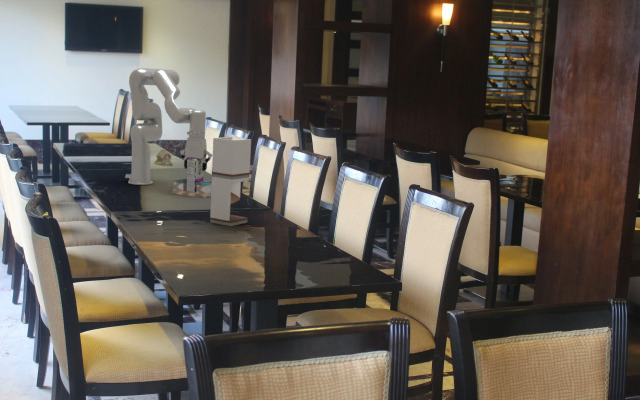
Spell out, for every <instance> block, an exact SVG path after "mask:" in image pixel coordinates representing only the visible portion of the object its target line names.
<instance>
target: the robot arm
mask: <svg viewBox="0 0 640 400" xmlns="http://www.w3.org/2000/svg"><path fill="white" fill-rule="evenodd" d="M179 83H180V75H179V74H178V72H177V71H176V70H174V69H162V68H147V67H146V68H145V67H141V68H136V69H133V70H132V71H131V73H130V74H129V78H128V84H129V89H130V96H131V100H130V101H131V113H132V117H133V119H134V120H135V121H142V122H141V123H135V124H134V125H132V126H131V128H130V132H129V133H130V134H129V135H130V140H131V173H126V174H125V176H124V178H125V179H129V180H128V184H129V185H134V186H135V185H137V186H147V185H153V183H154V182H153V181H152V180H151V147H150V145H149V143H148V142H156V141H159V140H161V138H162V136H163V118H162V117H163V115H162V109H161V107H160V106H159V104H158V103H157V102H152V101H151V102H150V101H149V94H148V91H147V89H146V87H145V86H155V87H156V88H157V89H158V90H159V91H160V94H161V95H162V97H163V98H164V110H165V112H166V114H167V115H168V117H169V119H170V120H171V121H172V122H174V123H176V124H189V131H187V132H186V135H188V137H187V138H186V142H185V147H184V149H181V150H180V151H179V153H180V155H181V158H182V160H183V161H184V163H183V167H184V169H186V170H187V159H190V158H196V159H202V161H203V163H202V171H204V172H205V171H207V169H208V163H209V161H211V160H212V158H213V153H211V152H209V151H207V150H208V149H207V140H206V138H205V136H206V134H205V133H206V118H207V114H206V111H205V110H202V109H201V110H200V109H197V108H196V109H195V108H192V107H191V108H190V107H189V108H188V107H179V106H178V105H177V104H176V102H175V100H176V99H178V97H179V96H180V95H181V90H180V88H179V87H178V85H179ZM144 121H147V122H145V123H144Z"/></svg>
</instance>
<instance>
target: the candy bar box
mask: <svg viewBox="0 0 640 400" xmlns="http://www.w3.org/2000/svg"><path fill="white" fill-rule="evenodd" d="M202 163H203V161H202V159H196V158H189V159H187V169H186V178H187V190H186V191H187V192H197V183H200V182H204V173H205V171H202Z"/></svg>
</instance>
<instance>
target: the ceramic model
mask: <svg viewBox="0 0 640 400" xmlns="http://www.w3.org/2000/svg"><path fill="white" fill-rule="evenodd" d="M171 160H172V156H171V153H169V151H168V150H167V149H166V148H163V149H160V151H159V152H158V153H157V154H156V160H155V161H154V165H156V166H161V167H169V166H173V162H172V161H171Z"/></svg>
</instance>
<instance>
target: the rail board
mask: <svg viewBox="0 0 640 400" xmlns="http://www.w3.org/2000/svg"><path fill="white" fill-rule="evenodd" d="M211 186H212V180H203V182H200V183H197V192H187V191H186V190H187V177H184V178H180V179H176V180H174V181H173V190H172V191H171V195H178V196H180V195H181V196H187V197H195V198H204V199H205V198H209V197H211Z"/></svg>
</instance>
